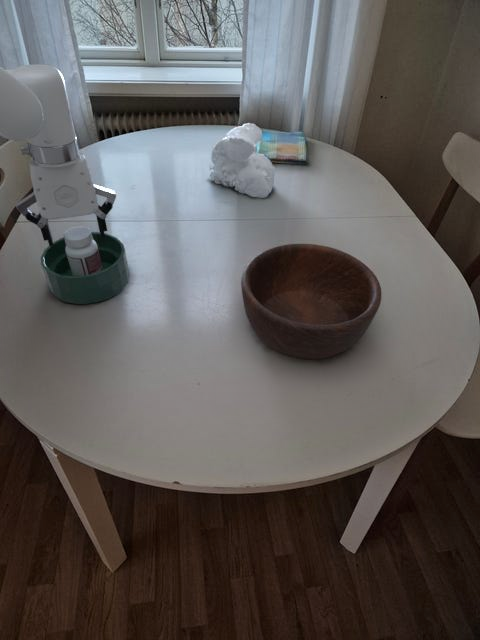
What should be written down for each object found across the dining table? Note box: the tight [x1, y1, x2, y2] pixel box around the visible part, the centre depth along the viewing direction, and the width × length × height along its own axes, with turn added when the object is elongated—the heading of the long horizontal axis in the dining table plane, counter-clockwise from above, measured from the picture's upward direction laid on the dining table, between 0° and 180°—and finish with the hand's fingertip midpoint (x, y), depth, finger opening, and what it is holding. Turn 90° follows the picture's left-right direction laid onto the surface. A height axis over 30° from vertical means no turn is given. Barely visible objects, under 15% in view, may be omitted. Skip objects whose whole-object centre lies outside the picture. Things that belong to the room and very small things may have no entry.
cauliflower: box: [209, 122, 276, 199], centre depth 122 cm, size 19×20×20 cm
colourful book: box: [256, 129, 309, 166], centre depth 145 cm, size 17×23×2 cm
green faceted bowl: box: [40, 231, 130, 305], centre depth 89 cm, size 16×16×7 cm
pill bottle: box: [63, 225, 103, 276], centre depth 87 cm, size 6×6×11 cm
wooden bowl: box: [240, 243, 382, 360], centre depth 80 cm, size 25×25×10 cm
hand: (77, 238), depth 84 cm, fingers open, 9 cm apart
